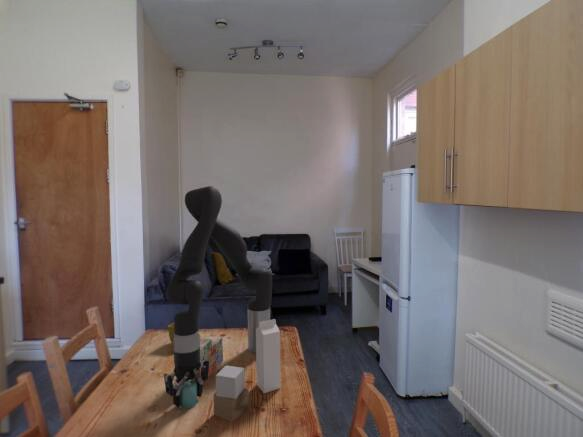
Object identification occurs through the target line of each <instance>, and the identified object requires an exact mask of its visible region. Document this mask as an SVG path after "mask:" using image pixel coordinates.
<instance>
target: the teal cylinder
mask: <svg viewBox="0 0 583 437" xmlns="http://www.w3.org/2000/svg"><path fill="white" fill-rule="evenodd" d="M180 397H181V406H180V407H179V408H181V409H185V410H186V409H191V408H194V407H195V406H197V404H198V396H197V382H196V381H194V380H189V381H187V382H185V384H184V387H183V388H182V389H181V391H180Z"/></svg>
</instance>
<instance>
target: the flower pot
mask: <svg viewBox="0 0 583 437" xmlns="http://www.w3.org/2000/svg"><path fill="white" fill-rule="evenodd" d="M167 332H168V337H169V340H170V342H171V344H172V345H174V322H173V323H172V322H171V323H170V324H169V325H168V326H167Z"/></svg>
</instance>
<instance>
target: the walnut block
mask: <svg viewBox="0 0 583 437" xmlns="http://www.w3.org/2000/svg"><path fill="white" fill-rule="evenodd" d="M212 398H213V415H214V416H217V417H219V418H221V419H224V420H226V421H228V422H230V423H234V422H235V421H236V420H237V419H239V418H240V417H241V416H242V415H243V414H244V413H246V412H248V410H249V409H250V408H249V389H248V388H244V389H243V391H242V392H241V393H240V395H239V396H238V397H237V398H236V399H231V398H225V397H219V396H216V392H215V393H214V394H213V397H212Z"/></svg>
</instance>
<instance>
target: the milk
mask: <svg viewBox="0 0 583 437" xmlns="http://www.w3.org/2000/svg"><path fill="white" fill-rule="evenodd" d="M276 320H277V319H275V318H273V319H270V320H268V321H263V322H260V323H259V327H258V328H257V329H256V354H255V357H256V358H255V359H256V360H255V362H256V363H255V364H256V365H255V366H256V368H255V369H256V371H255V374H256V386H257V387H258V388H259V389H260V390H261V391H262V393H263V394H266V393H269V392H273V391H276V390H278V389H281V388H282V386H281V385H282V384H281V331H280V329H279V326H278V325H277V321H276Z"/></svg>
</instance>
